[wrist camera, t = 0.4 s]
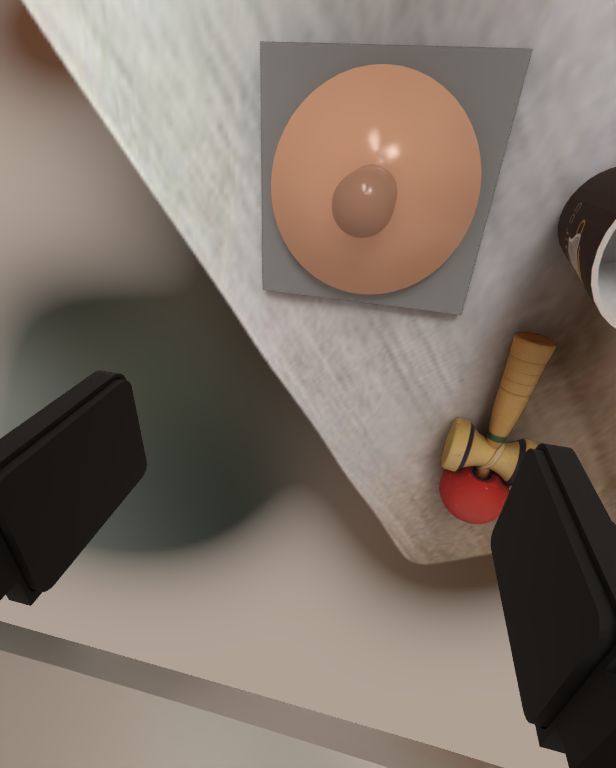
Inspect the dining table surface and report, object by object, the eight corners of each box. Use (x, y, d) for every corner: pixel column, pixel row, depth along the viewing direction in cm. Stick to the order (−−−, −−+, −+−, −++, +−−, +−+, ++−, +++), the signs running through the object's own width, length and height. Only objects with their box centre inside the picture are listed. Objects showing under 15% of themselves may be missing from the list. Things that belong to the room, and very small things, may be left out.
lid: (275, 62, 26) (242, 45, 21) (508, 70, 24) (533, 53, 19) (274, 279, 33) (249, 305, 28) (450, 300, 31) (458, 332, 26)
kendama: (467, 317, 34) (416, 488, 42) (497, 343, 28) (431, 536, 36) (557, 330, 34) (490, 497, 42) (606, 357, 28) (517, 545, 36)
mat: (265, 44, 26) (260, 41, 25) (528, 51, 24) (532, 48, 23) (266, 285, 35) (262, 289, 34) (459, 310, 32) (461, 314, 31)
